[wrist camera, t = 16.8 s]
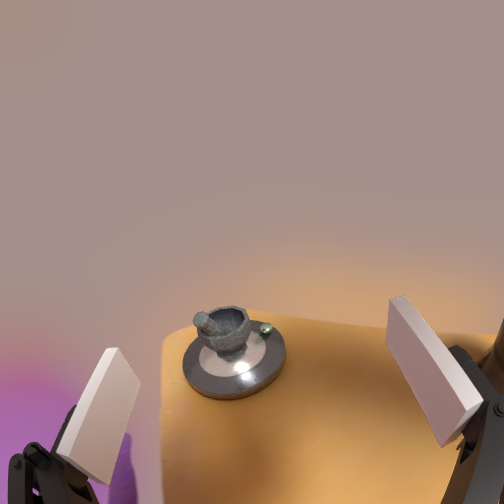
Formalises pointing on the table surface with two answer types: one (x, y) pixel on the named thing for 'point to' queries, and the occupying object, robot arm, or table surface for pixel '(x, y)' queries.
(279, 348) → the base
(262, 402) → the table surface
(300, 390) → the table surface
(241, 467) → the table surface
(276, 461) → the table surface
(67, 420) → the robot arm
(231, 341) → the mortar and pestle
